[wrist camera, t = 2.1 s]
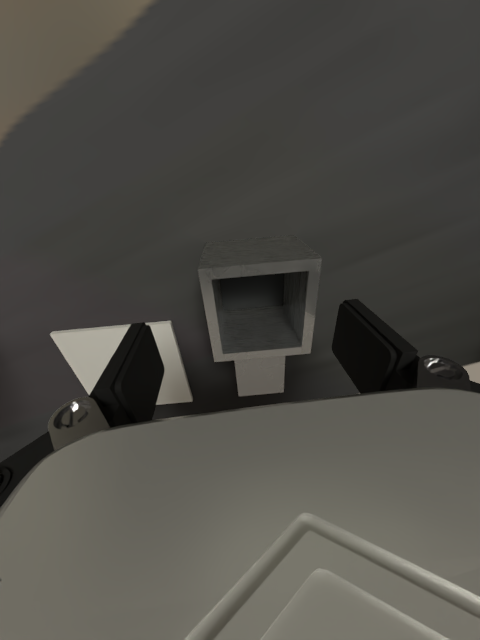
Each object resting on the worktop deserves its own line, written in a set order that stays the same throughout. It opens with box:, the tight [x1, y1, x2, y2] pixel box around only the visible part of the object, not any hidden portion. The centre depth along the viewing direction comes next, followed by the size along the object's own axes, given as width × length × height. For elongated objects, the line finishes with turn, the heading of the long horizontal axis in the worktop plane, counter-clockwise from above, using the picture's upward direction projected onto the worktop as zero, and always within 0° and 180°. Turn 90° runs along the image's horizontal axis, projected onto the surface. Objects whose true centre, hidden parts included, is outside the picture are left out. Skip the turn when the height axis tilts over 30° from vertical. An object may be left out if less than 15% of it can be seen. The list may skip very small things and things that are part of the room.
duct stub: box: [50, 321, 193, 405], centre depth 19 cm, size 10×10×6 cm
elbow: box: [198, 235, 322, 396], centre depth 17 cm, size 12×6×6 cm, turn 4°
